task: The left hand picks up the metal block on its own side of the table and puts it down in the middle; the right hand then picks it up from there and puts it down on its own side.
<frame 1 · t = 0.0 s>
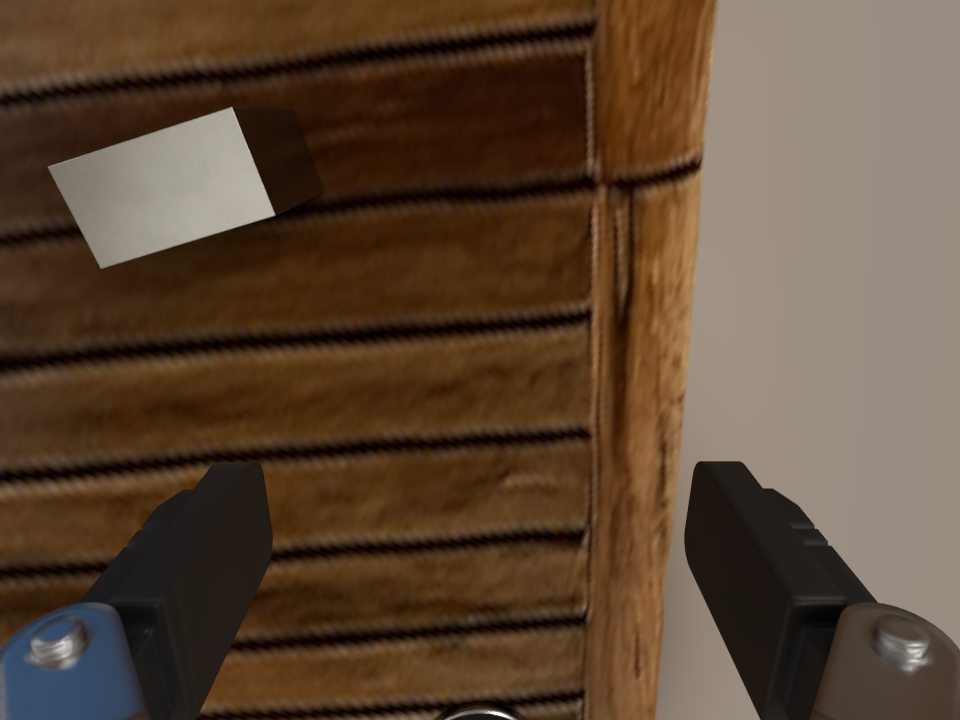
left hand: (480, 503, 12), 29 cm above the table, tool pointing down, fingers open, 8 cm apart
block: (238, 173, 37), on the table
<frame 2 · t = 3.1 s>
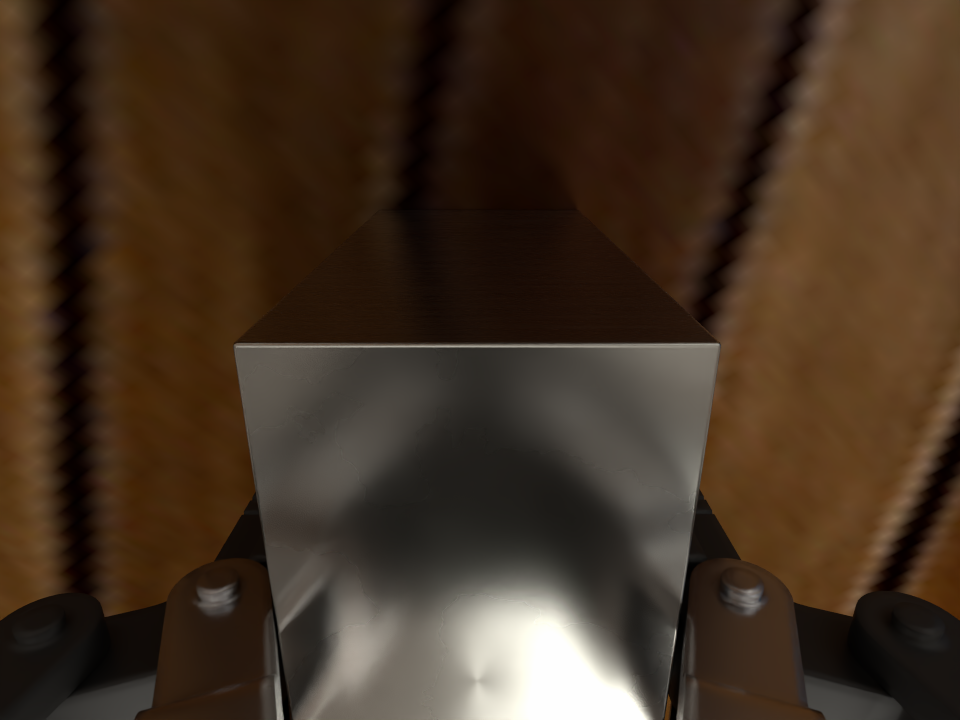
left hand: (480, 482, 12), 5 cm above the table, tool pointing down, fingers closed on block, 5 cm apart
block: (478, 380, 17), on the table, touching left hand
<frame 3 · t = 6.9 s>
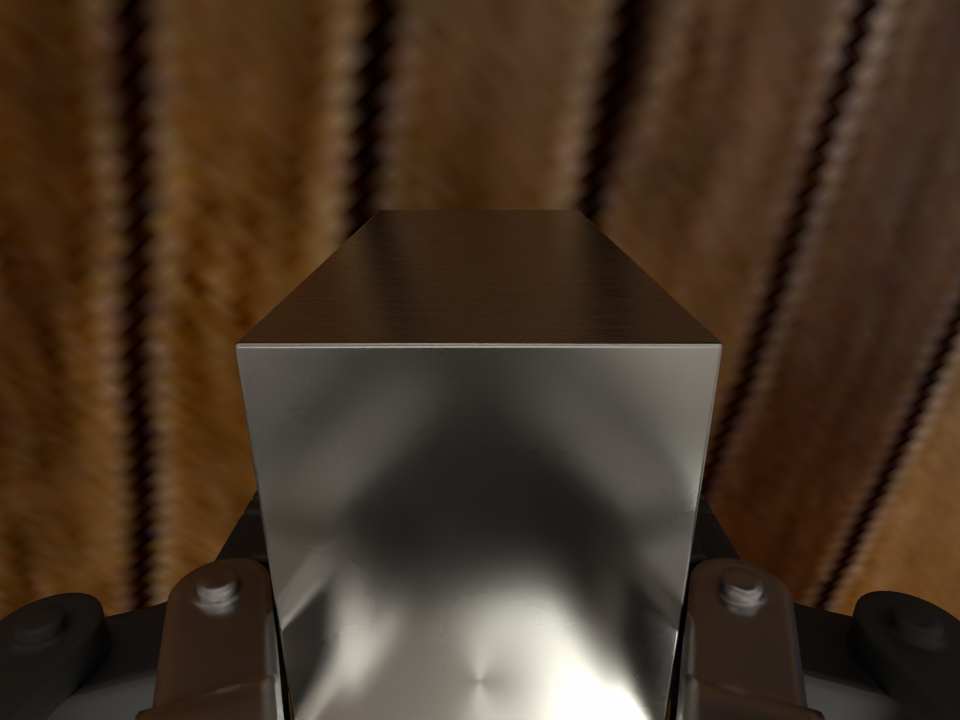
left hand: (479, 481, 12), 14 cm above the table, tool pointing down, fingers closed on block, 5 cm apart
block: (479, 380, 17), point 9 cm above the table, touching left hand
when the left hand's fingers open (7 cm above the table, at t = 10.7 s): block drops 2 cm, on the table.
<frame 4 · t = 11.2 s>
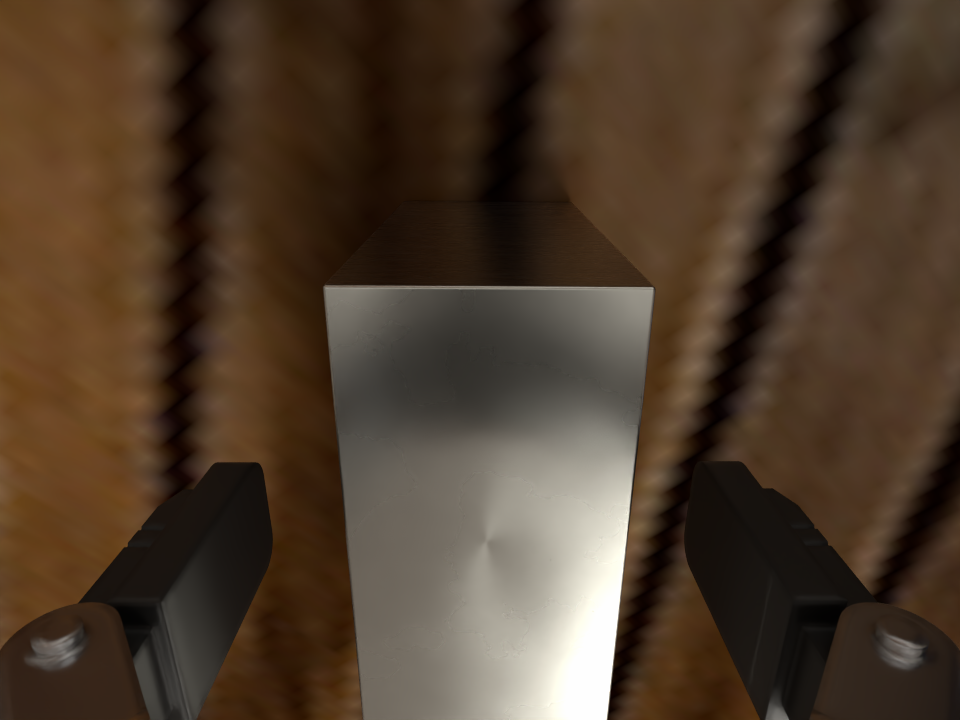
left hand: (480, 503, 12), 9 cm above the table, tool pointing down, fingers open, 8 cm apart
block: (486, 347, 20), on the table
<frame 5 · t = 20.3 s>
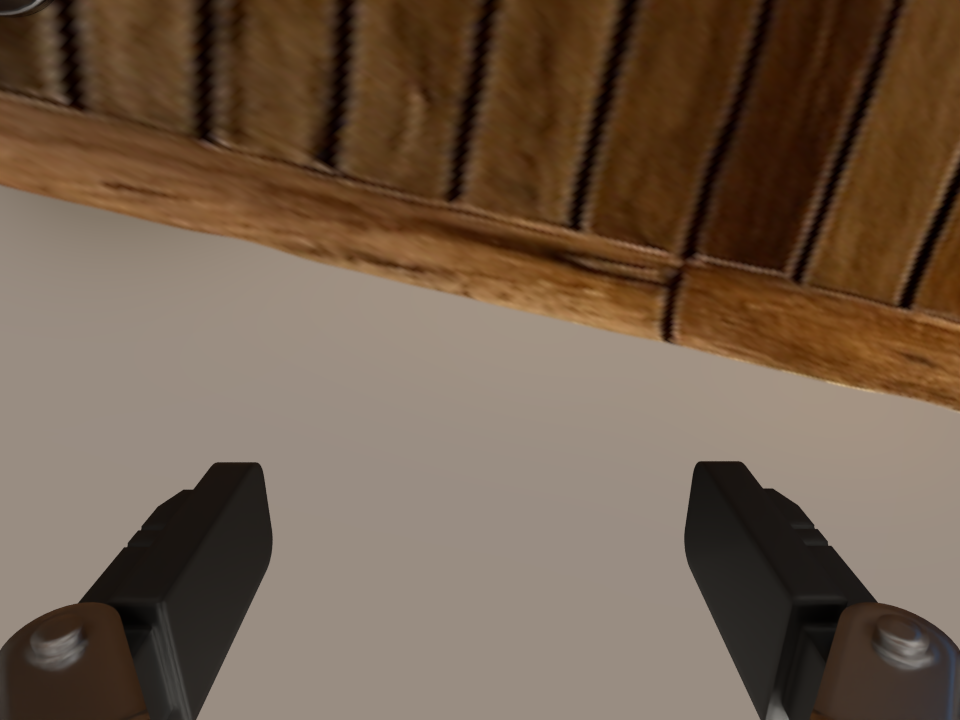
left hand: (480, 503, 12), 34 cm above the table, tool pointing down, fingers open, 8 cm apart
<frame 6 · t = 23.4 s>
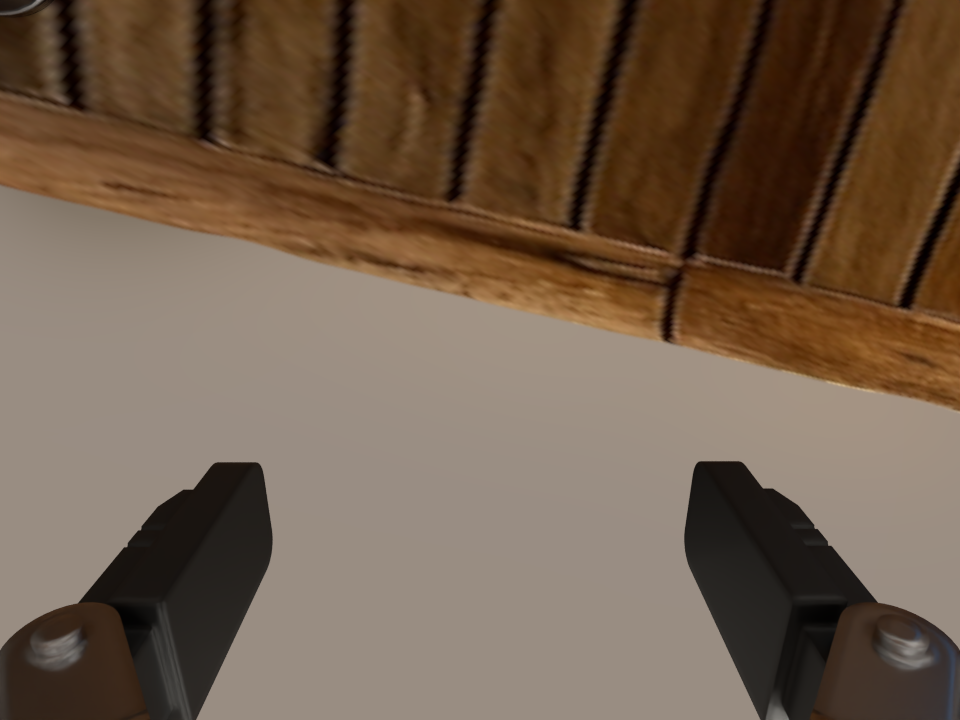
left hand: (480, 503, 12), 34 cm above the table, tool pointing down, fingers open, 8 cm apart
when the right hand's fingers open (6 cm above the table, at t = 26.7 s): block drops 2 cm, on the table.
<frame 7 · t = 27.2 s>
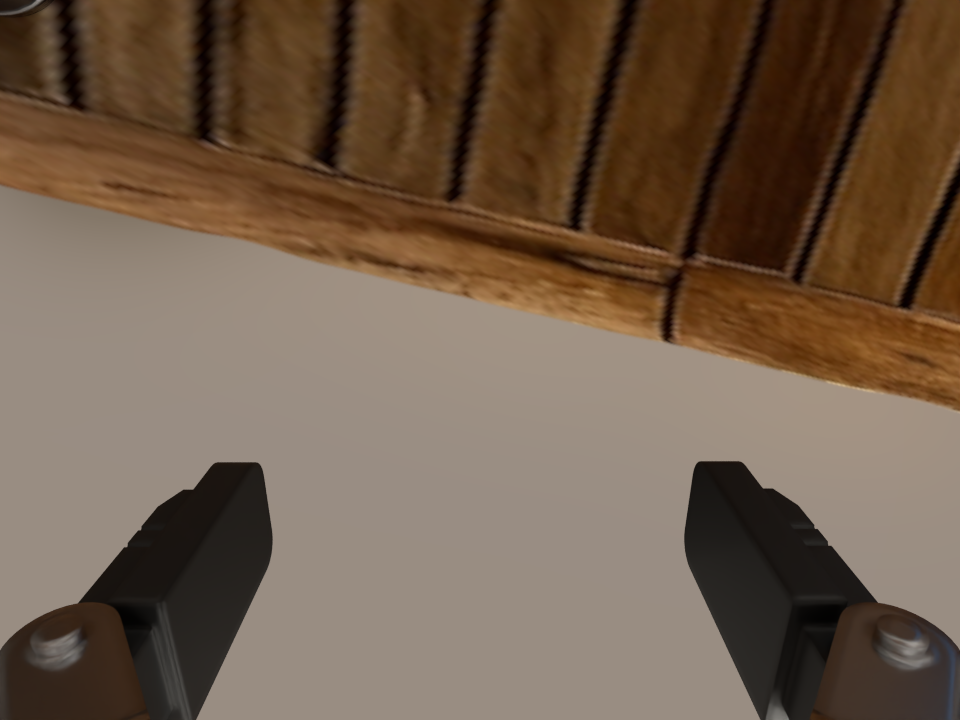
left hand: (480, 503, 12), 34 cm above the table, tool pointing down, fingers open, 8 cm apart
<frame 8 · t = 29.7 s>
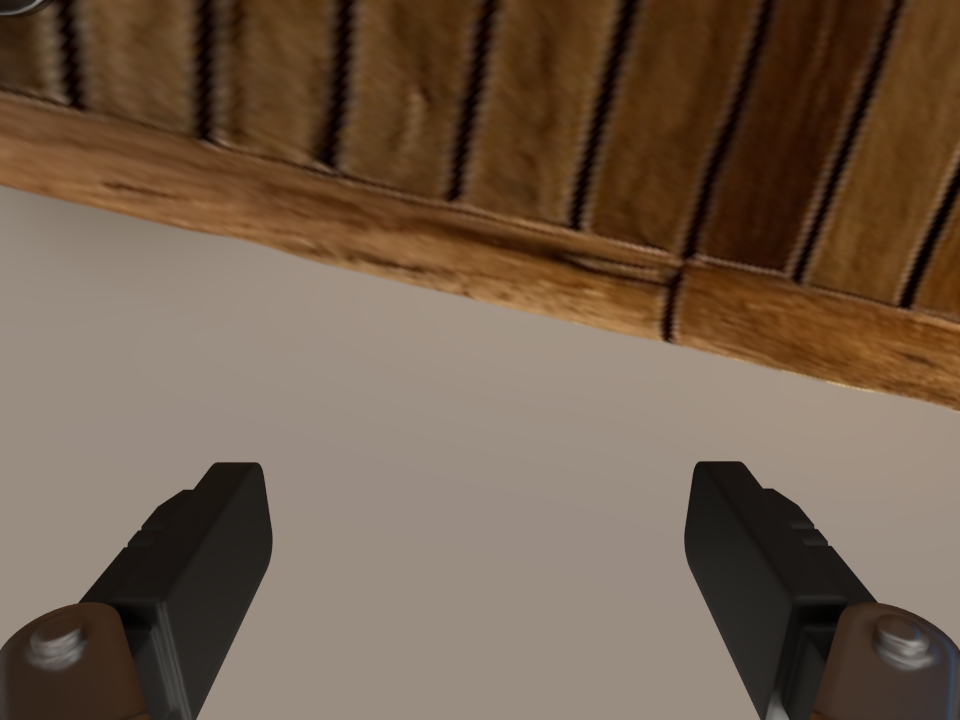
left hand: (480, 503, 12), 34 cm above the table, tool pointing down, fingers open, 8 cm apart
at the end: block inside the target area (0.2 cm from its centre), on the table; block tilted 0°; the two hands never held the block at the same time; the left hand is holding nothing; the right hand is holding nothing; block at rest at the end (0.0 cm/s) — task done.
